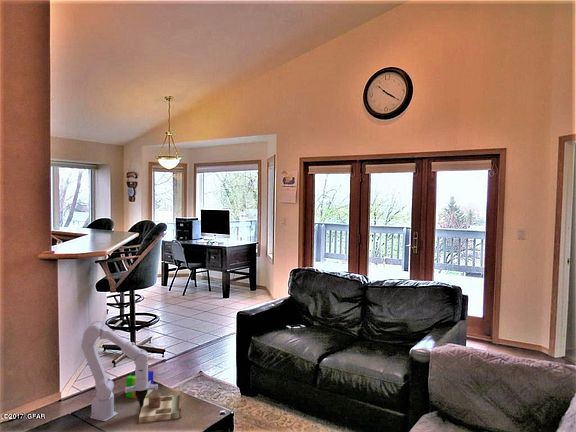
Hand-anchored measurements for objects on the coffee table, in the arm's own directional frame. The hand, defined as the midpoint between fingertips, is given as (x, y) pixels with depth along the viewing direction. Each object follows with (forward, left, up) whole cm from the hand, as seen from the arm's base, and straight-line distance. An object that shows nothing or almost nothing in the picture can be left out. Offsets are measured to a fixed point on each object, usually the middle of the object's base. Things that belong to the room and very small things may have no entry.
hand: (141, 405), depth 192 cm
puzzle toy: (-15, +16, -4) cm, 22 cm away
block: (+5, +3, -1) cm, 6 cm away
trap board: (+8, +5, -3) cm, 10 cm away
